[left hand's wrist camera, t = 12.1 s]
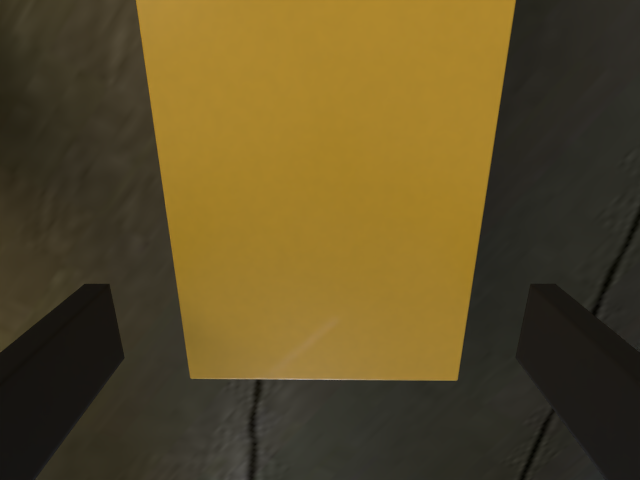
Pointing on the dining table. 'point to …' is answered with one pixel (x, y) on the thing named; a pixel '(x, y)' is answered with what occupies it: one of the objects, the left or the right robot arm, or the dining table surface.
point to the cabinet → (325, 178)
